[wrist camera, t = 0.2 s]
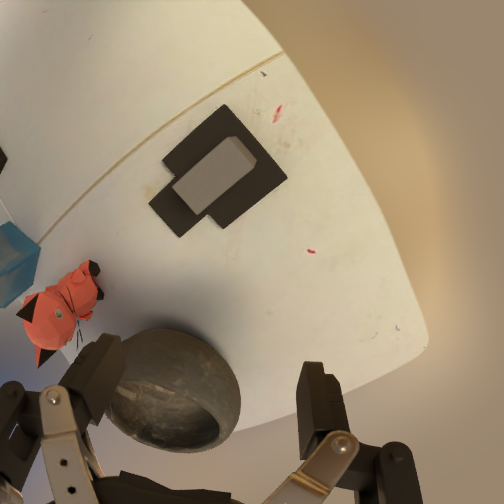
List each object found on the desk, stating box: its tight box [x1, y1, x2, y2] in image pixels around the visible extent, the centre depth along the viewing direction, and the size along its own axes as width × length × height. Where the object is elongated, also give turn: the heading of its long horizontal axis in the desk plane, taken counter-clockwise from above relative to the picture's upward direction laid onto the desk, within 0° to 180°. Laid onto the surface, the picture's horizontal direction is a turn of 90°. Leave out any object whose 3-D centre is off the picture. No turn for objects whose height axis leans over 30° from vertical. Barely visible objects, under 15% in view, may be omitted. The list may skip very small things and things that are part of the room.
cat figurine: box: [16, 260, 104, 368], centre depth 25 cm, size 7×7×12 cm
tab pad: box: [149, 104, 287, 238], centre depth 22 cm, size 8×11×6 cm
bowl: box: [104, 328, 241, 453], centre depth 29 cm, size 15×15×10 cm
